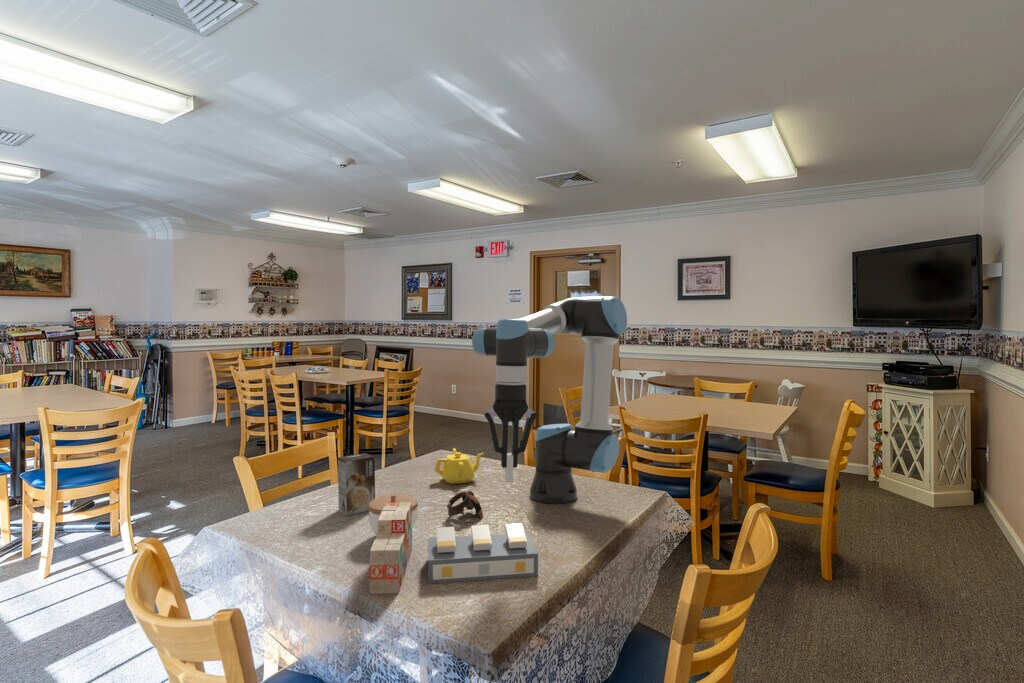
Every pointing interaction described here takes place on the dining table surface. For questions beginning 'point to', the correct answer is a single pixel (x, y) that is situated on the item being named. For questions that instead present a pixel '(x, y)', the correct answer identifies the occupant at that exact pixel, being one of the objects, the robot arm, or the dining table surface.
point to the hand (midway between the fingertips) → (508, 480)
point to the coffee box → (356, 483)
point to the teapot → (457, 468)
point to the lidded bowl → (380, 502)
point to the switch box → (481, 561)
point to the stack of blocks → (391, 548)
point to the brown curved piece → (464, 504)
